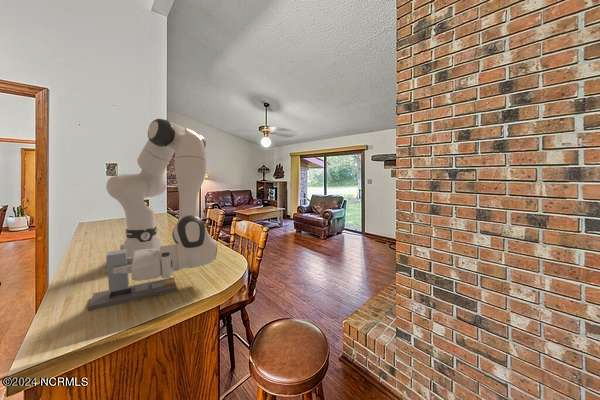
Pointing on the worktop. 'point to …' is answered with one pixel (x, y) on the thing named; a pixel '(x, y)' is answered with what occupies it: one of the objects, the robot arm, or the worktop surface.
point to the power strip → (132, 293)
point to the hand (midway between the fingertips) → (114, 267)
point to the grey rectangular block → (119, 279)
